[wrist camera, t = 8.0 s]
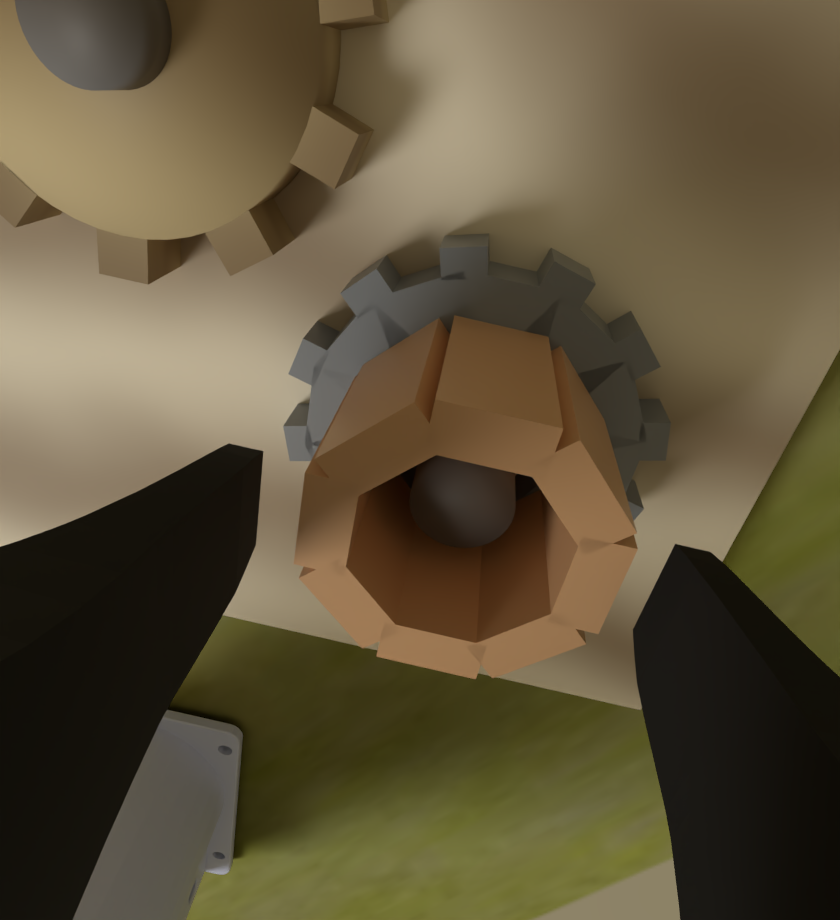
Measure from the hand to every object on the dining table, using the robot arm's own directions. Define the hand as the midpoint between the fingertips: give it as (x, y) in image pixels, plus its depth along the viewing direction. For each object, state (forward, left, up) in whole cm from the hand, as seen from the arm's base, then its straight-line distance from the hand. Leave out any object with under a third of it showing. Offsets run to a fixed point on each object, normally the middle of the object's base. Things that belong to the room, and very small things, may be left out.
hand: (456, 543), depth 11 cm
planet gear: (0, 0, -5) cm, 5 cm away
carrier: (+2, +3, -6) cm, 7 cm away
